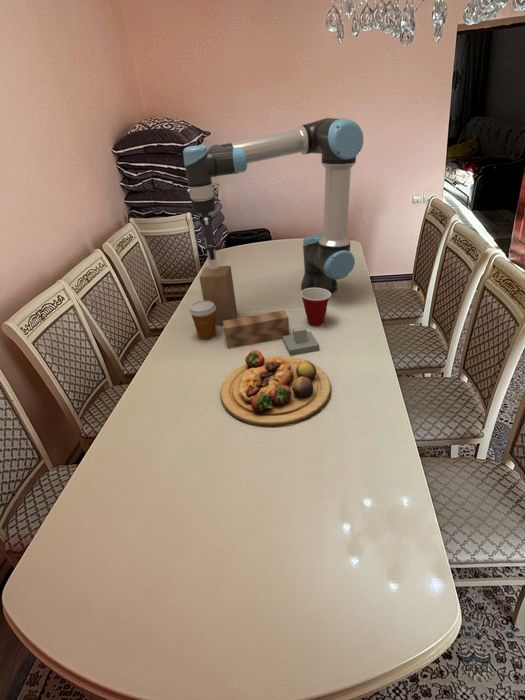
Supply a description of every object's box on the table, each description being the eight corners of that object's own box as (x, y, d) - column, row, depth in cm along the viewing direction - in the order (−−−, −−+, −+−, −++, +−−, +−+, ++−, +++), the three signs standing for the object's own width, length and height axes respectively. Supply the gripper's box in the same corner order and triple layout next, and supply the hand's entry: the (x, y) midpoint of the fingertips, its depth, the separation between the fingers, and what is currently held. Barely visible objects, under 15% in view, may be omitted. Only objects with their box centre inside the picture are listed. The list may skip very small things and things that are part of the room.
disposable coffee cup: (189, 340, 163) (183, 310, 157) (202, 328, 170) (197, 299, 164) (212, 343, 159) (207, 312, 153) (224, 330, 166) (220, 301, 160)
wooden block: (237, 313, 178) (230, 265, 168) (233, 325, 170) (226, 275, 160) (212, 314, 180) (204, 266, 170) (207, 326, 171) (198, 276, 161)
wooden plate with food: (215, 373, 143) (211, 351, 139) (312, 353, 147) (311, 331, 142) (229, 440, 116) (224, 416, 112) (347, 414, 120) (347, 390, 115)
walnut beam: (285, 330, 163) (284, 310, 159) (289, 337, 158) (288, 317, 154) (225, 340, 160) (222, 320, 156) (227, 349, 155) (224, 328, 151)
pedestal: (310, 336, 157) (309, 319, 154) (319, 350, 148) (318, 332, 145) (282, 341, 156) (281, 324, 152) (289, 355, 147) (288, 338, 144)
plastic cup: (333, 328, 160) (332, 297, 154) (302, 330, 161) (300, 299, 155) (330, 315, 169) (329, 285, 163) (301, 317, 170) (299, 287, 164)
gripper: (189, 192, 155) (200, 252, 166) (191, 208, 134) (203, 275, 145) (211, 189, 156) (220, 249, 167) (216, 205, 135) (226, 272, 145)
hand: (212, 261), depth 156 cm, fingers open, 13 cm apart
